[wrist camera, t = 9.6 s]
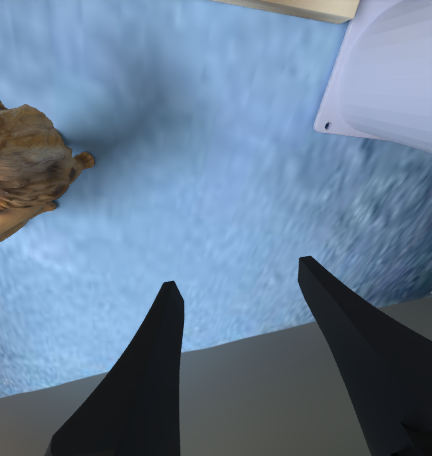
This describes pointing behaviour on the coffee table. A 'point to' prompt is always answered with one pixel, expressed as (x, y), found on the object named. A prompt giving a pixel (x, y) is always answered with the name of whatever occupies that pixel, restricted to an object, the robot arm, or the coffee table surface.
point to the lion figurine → (32, 166)
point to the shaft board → (305, 8)
